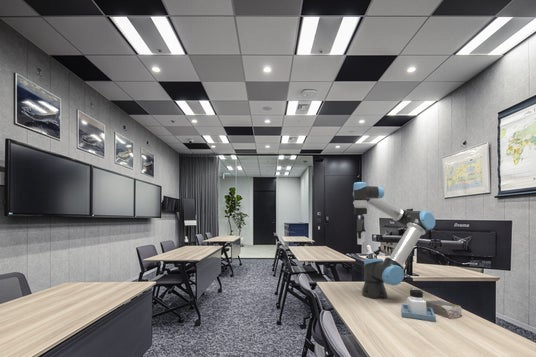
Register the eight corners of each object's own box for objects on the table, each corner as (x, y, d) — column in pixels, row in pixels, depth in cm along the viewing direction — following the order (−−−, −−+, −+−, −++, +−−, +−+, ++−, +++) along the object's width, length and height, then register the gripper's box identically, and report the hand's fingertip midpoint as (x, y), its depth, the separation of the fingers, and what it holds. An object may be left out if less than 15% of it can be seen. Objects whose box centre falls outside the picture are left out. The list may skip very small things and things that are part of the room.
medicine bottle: (427, 316, 145) (426, 291, 147) (412, 315, 147) (411, 291, 148) (422, 311, 152) (420, 288, 154) (407, 310, 154) (406, 287, 155)
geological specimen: (438, 299, 162) (464, 305, 148) (439, 310, 161) (465, 318, 147) (424, 300, 158) (449, 307, 144) (424, 312, 157) (450, 320, 143)
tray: (401, 308, 159) (401, 303, 159) (432, 312, 153) (432, 307, 153) (402, 317, 145) (401, 312, 146) (435, 322, 139) (435, 316, 140)
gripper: (356, 208, 186) (357, 241, 183) (351, 207, 163) (351, 244, 160) (368, 208, 183) (369, 241, 180) (364, 207, 160) (365, 245, 157)
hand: (361, 243), depth 170 cm, fingers open, 13 cm apart
